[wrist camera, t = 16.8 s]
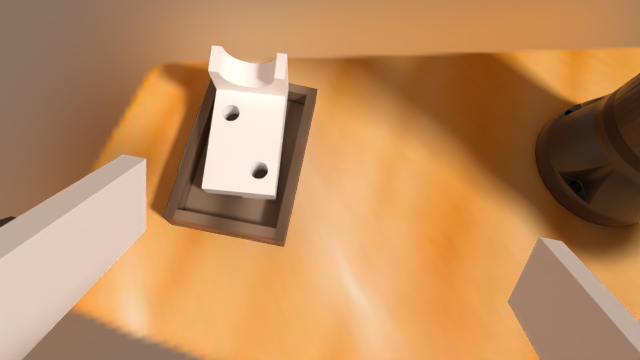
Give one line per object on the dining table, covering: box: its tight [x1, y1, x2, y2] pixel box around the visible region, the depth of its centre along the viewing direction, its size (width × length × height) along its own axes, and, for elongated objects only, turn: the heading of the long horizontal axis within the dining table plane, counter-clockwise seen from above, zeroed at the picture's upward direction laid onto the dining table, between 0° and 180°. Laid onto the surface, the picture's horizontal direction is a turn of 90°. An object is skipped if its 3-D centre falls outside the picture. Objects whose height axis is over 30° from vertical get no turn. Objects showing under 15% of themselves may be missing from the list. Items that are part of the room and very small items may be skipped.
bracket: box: [202, 46, 289, 201], centre depth 39 cm, size 13×7×8 cm, turn 176°
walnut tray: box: [163, 78, 317, 247], centre depth 42 cm, size 12×18×3 cm
